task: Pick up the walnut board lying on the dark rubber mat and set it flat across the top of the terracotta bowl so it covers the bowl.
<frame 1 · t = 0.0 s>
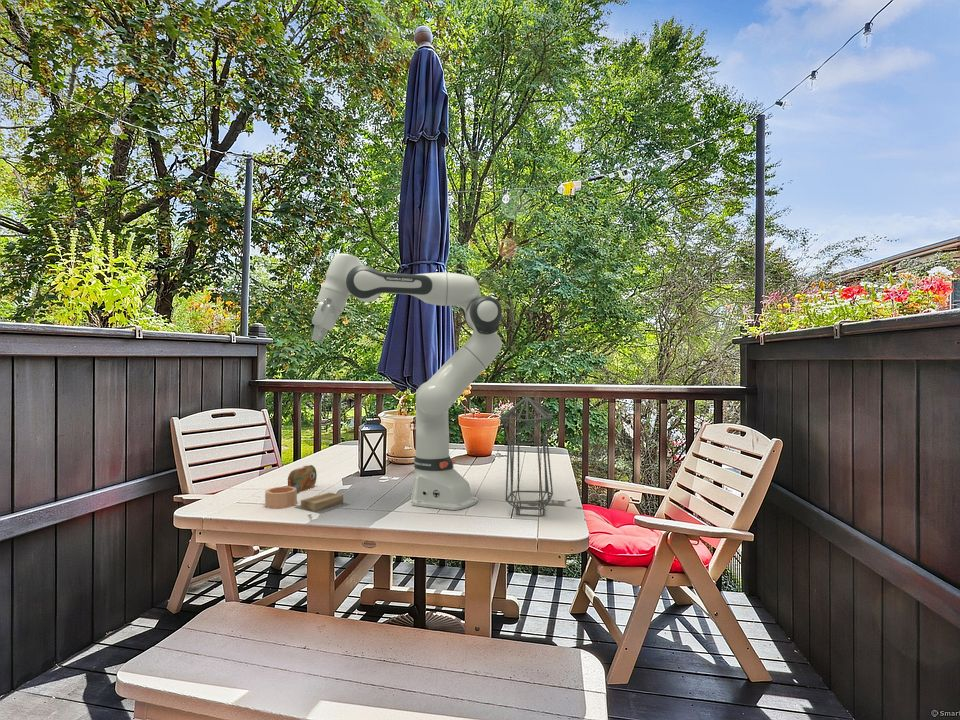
hand: (316, 341, 160), 52 cm above the table, tool tilted 20°, fingers open, 8 cm apart
mat: (322, 507, 155), on the table
geometric lantern: (527, 512, 151), on the table
cover board: (322, 505, 155), resting on mat
bowl: (281, 506, 156), on the table
brown mottled rounded slab: (302, 491, 175), on the table
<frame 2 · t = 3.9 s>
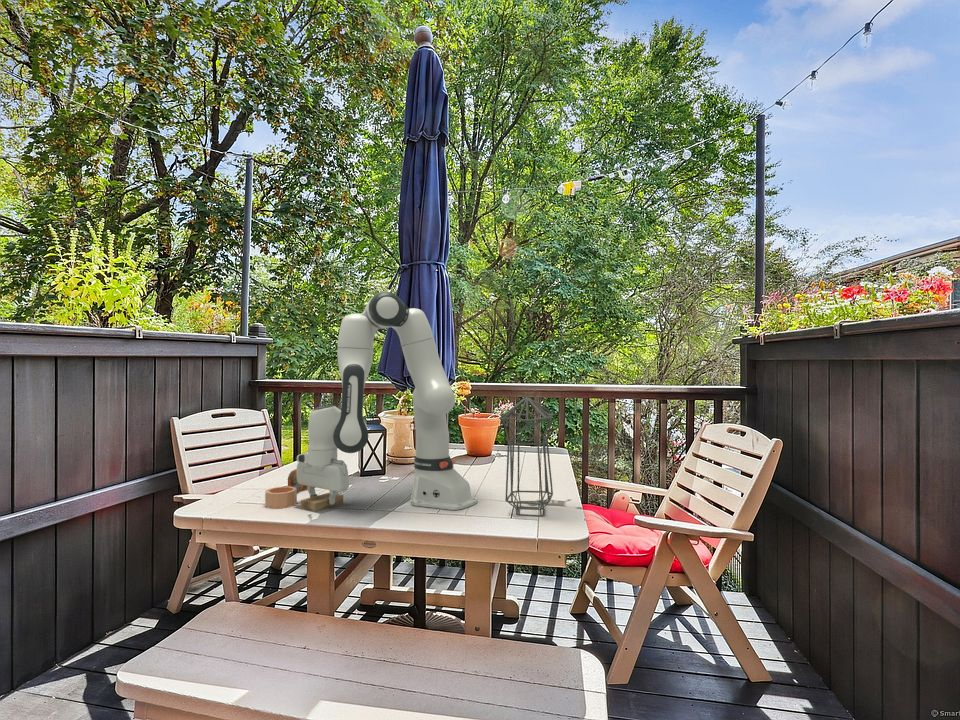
hand: (322, 502, 154), 2 cm above the table, tool pointing down, fingers closed on cover board, 6 cm apart
cover board: (322, 505, 155), resting on mat, touching gripper
everything else where it was.
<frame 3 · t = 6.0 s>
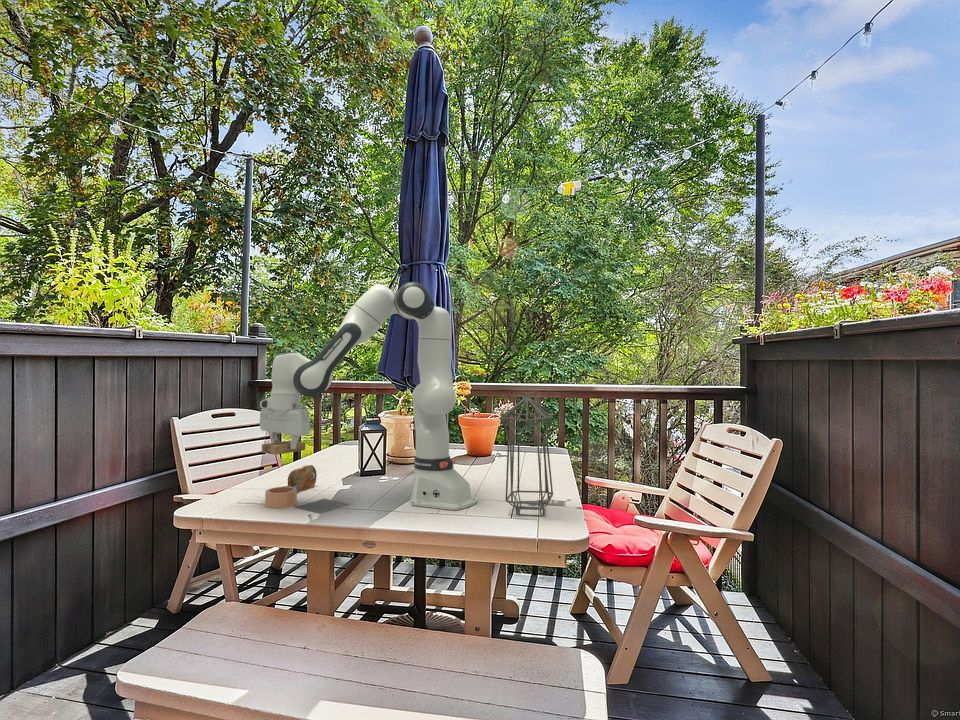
hand: (283, 447, 156), 18 cm above the table, tool pointing down, fingers closed on cover board, 6 cm apart
cover board: (283, 451, 155), point 17 cm above the table, touching gripper
everything else where it was.
when the fingers open (7 cm above the table, at t = 8.6 s): cover board stays where it is, resting on bowl.
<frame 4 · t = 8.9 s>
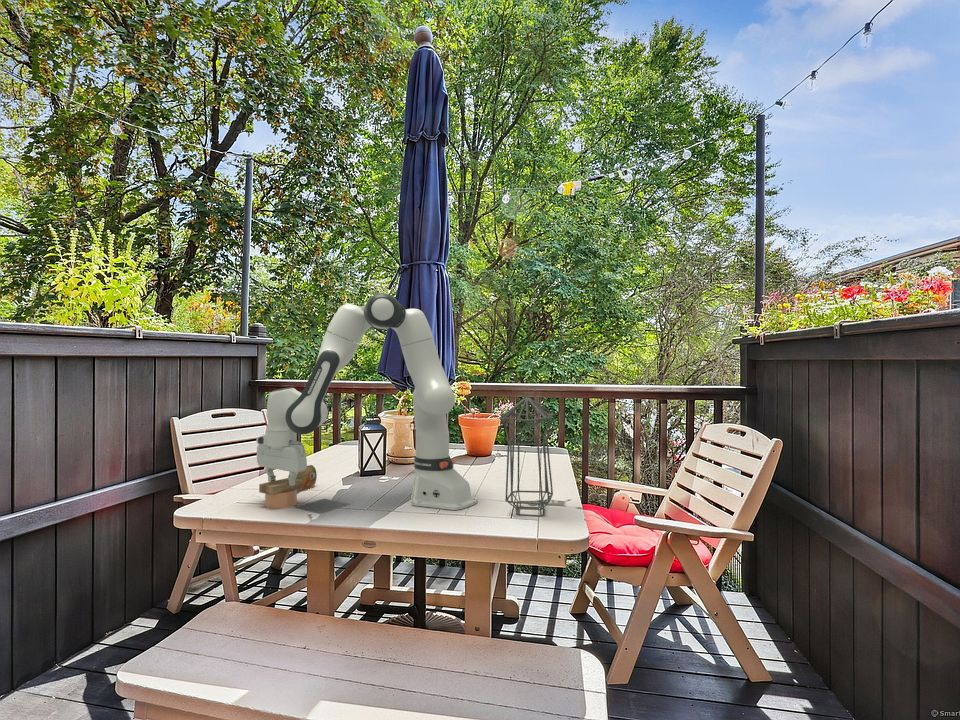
hand: (281, 483, 156), 7 cm above the table, tool pointing down, fingers open, 8 cm apart
cover board: (281, 490, 156), point 5 cm above the table, touching bowl
everything else where it was.
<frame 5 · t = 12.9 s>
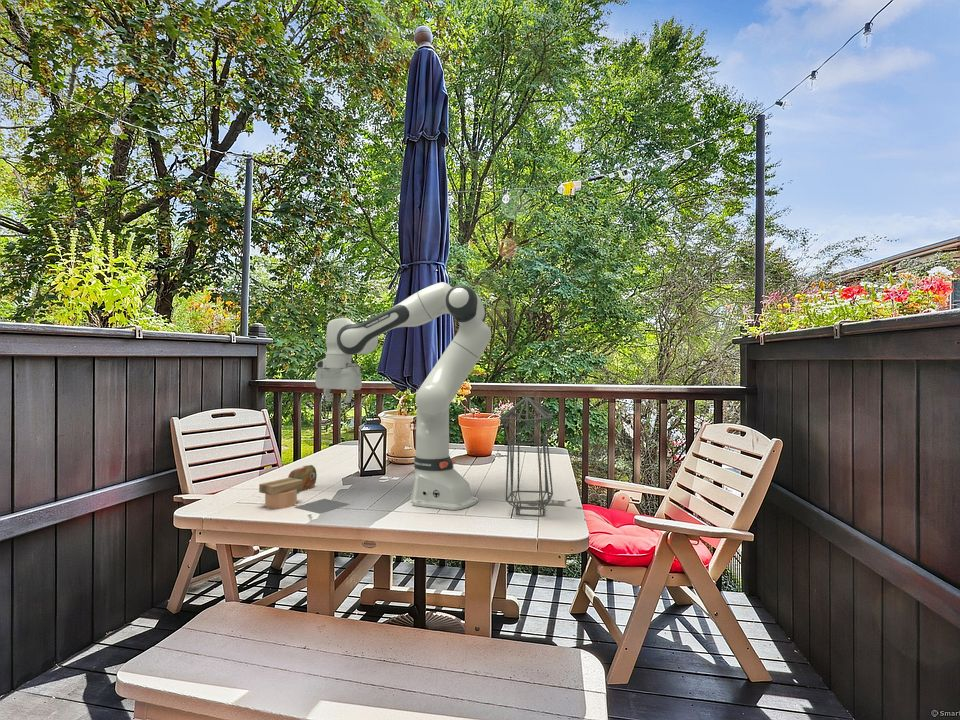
hand: (338, 402, 177), 31 cm above the table, tool pointing down, fingers open, 8 cm apart
nothing on the table moved.
at the end: cover board 0.1 cm off-centre on the bowl, point 5.0 cm above the bowl's base; cover board tilted 0°; the gripper is holding nothing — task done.
